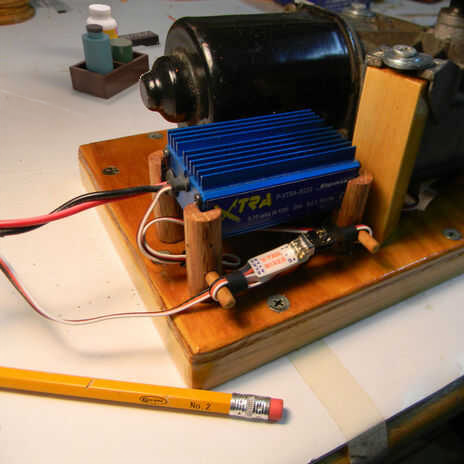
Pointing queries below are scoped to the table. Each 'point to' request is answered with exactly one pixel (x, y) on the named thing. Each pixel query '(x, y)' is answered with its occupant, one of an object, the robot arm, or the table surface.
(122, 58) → the green jar
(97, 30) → the water bottle
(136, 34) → the multiport hub
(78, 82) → the cup holder
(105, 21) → the supplement bottle
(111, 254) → the table surface
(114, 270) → the table surface
